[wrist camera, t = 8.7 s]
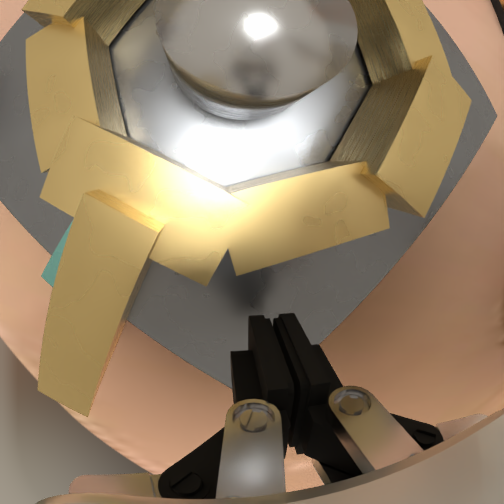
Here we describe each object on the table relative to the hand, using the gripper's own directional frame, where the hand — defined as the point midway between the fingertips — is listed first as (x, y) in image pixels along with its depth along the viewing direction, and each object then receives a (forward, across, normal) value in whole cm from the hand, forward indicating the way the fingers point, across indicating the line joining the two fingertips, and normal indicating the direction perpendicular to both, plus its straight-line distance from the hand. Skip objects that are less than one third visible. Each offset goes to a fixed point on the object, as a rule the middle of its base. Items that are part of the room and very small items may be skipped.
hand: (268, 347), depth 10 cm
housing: (+5, +1, -11) cm, 12 cm away
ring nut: (+2, +2, -9) cm, 9 cm away
